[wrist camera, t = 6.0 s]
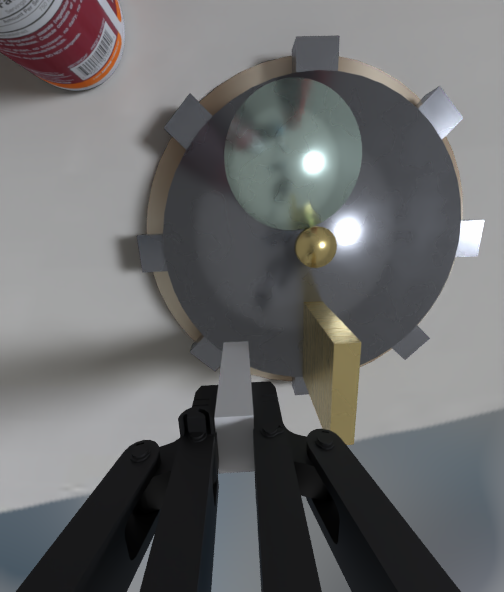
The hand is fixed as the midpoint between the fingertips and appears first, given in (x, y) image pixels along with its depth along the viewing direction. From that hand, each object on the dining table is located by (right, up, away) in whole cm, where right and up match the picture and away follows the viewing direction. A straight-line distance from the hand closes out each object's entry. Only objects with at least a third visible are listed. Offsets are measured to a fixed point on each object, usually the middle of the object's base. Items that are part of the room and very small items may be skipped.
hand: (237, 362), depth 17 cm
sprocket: (+5, +8, +2) cm, 9 cm away
